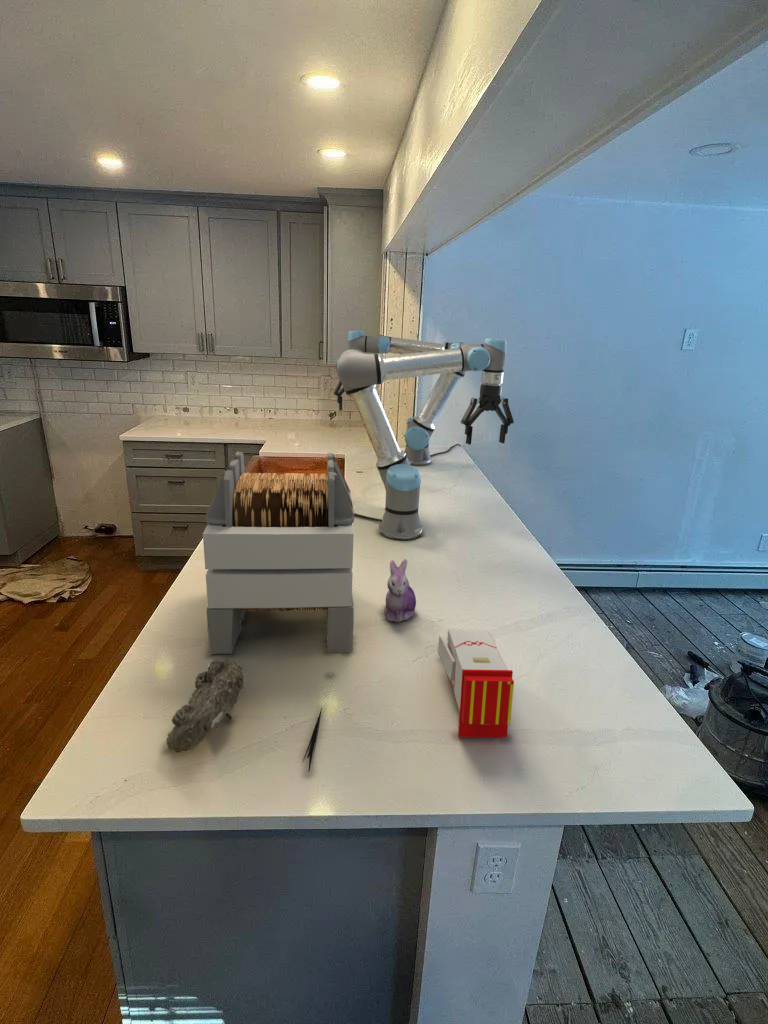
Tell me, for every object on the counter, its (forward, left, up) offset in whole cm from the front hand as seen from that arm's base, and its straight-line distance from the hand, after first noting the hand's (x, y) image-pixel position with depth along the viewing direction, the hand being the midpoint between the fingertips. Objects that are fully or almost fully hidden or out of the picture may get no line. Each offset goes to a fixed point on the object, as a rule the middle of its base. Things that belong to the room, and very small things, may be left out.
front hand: (485, 443), depth 207 cm
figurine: (+35, -72, -30) cm, 86 cm away
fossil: (+43, -127, -30) cm, 137 cm away
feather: (+56, -111, -30) cm, 128 cm away
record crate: (+19, -96, -30) cm, 103 cm away
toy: (+68, -82, -30) cm, 110 cm away
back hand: (-89, +8, -2) cm, 89 cm away
